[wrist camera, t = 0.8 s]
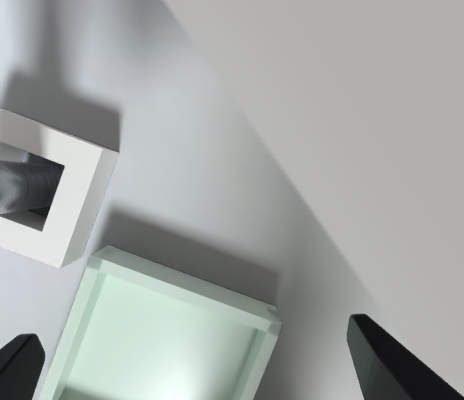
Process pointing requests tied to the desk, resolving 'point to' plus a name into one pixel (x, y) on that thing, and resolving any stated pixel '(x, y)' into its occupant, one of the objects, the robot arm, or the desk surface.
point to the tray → (159, 336)
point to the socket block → (66, 197)
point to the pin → (27, 185)
